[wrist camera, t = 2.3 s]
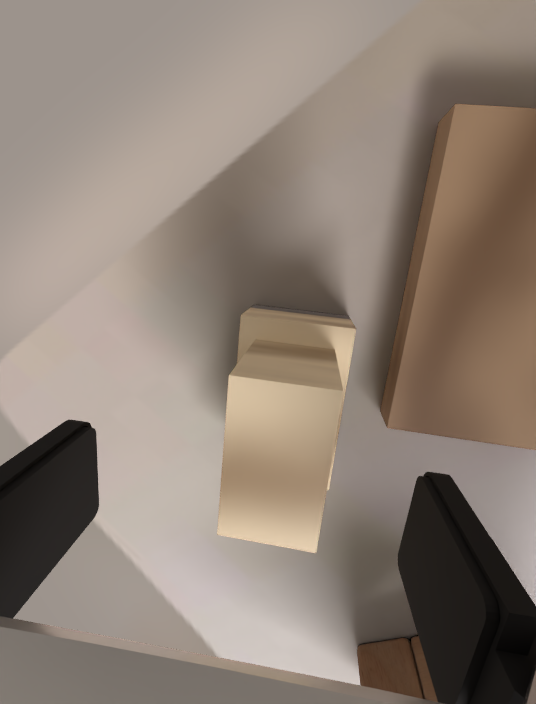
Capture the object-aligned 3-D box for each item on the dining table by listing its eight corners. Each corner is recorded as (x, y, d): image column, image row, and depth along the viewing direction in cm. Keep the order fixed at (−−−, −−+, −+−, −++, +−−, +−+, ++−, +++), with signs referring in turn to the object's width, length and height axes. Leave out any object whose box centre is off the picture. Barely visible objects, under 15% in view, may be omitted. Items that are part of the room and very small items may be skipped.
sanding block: (254, 304, 19) (206, 340, 11) (348, 315, 18) (375, 362, 10) (242, 437, 21) (195, 553, 13) (326, 451, 21) (333, 580, 12)
